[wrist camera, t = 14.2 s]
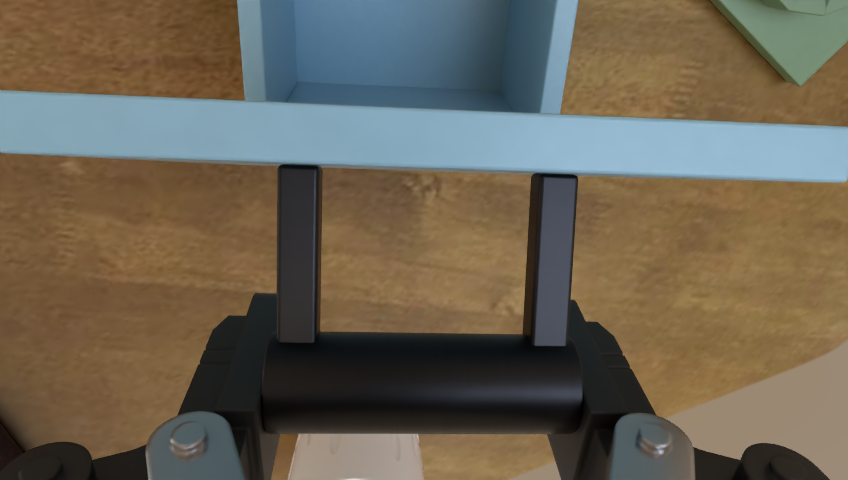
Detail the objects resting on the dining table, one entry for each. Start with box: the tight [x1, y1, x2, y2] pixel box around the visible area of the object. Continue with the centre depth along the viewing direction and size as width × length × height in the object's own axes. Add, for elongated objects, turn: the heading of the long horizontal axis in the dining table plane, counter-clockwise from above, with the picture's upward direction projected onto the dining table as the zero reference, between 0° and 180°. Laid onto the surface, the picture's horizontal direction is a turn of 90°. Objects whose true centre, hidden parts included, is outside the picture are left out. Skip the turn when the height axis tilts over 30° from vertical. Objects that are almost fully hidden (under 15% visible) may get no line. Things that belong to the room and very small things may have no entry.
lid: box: [0, 90, 848, 434], centre depth 15 cm, size 14×12×6 cm
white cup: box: [287, 434, 424, 480], centre depth 35 cm, size 8×8×10 cm
